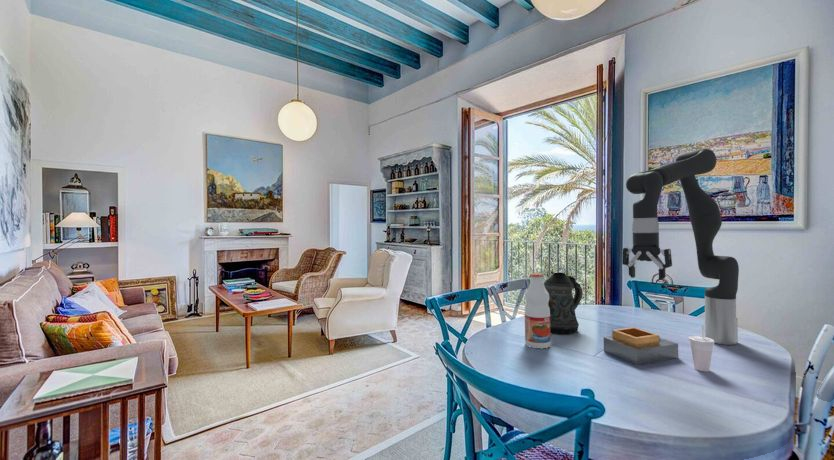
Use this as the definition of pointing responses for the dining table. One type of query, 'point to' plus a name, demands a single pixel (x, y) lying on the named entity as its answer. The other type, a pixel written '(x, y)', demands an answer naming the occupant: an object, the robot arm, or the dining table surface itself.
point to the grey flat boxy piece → (639, 346)
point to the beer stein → (563, 303)
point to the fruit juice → (537, 313)
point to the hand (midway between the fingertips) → (646, 278)
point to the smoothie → (701, 351)
